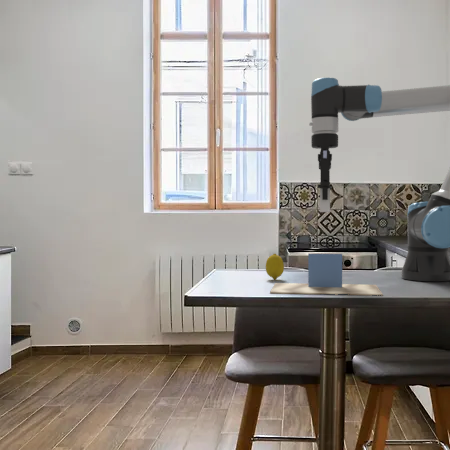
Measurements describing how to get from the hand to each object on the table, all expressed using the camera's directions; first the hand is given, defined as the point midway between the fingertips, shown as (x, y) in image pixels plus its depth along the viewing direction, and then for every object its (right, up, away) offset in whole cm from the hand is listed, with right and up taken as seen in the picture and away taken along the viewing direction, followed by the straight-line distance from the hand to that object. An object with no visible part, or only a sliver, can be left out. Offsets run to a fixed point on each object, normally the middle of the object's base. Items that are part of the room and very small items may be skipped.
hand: (324, 211), depth 168 cm
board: (-2, -21, -11) cm, 24 cm away
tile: (-1, -21, -8) cm, 22 cm away
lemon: (-13, -21, +11) cm, 27 cm away
